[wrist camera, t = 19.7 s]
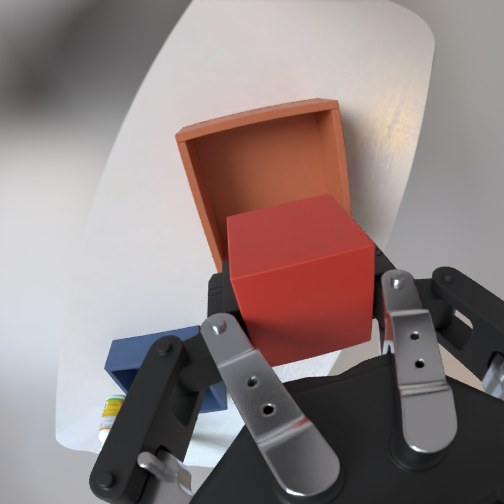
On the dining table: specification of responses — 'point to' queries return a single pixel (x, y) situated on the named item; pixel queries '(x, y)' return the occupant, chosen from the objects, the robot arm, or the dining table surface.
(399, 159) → the dining table surface
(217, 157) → the terracotta bin
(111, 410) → the supplement bottle
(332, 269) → the red block
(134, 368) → the blue bin
